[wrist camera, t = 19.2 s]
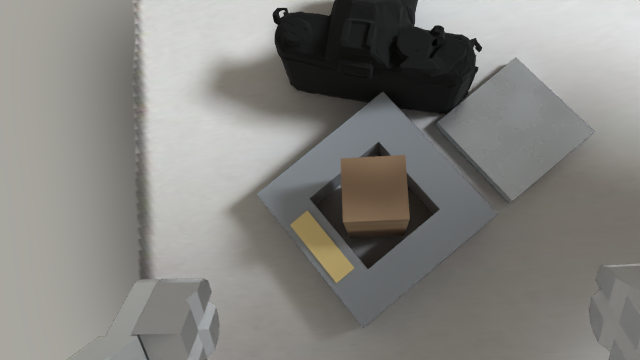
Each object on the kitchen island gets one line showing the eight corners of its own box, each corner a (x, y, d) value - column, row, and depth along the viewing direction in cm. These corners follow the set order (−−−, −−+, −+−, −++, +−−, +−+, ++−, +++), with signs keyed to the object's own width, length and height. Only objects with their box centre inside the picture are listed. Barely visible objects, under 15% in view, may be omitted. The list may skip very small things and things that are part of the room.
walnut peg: (403, 235, 38) (409, 219, 30) (350, 238, 38) (342, 222, 31) (400, 183, 39) (405, 154, 31) (348, 186, 39) (340, 158, 32)
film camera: (480, 15, 41) (507, -60, 33) (460, 126, 40) (483, 76, 31) (302, -10, 44) (283, -87, 35) (275, 92, 42) (248, 38, 33)
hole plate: (489, 220, 37) (498, 213, 34) (364, 326, 37) (363, 328, 34) (382, 106, 40) (382, 90, 37) (265, 201, 40) (256, 193, 37)
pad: (589, 135, 38) (594, 131, 37) (509, 203, 38) (512, 200, 37) (512, 63, 40) (515, 57, 39) (435, 126, 40) (437, 122, 39)
